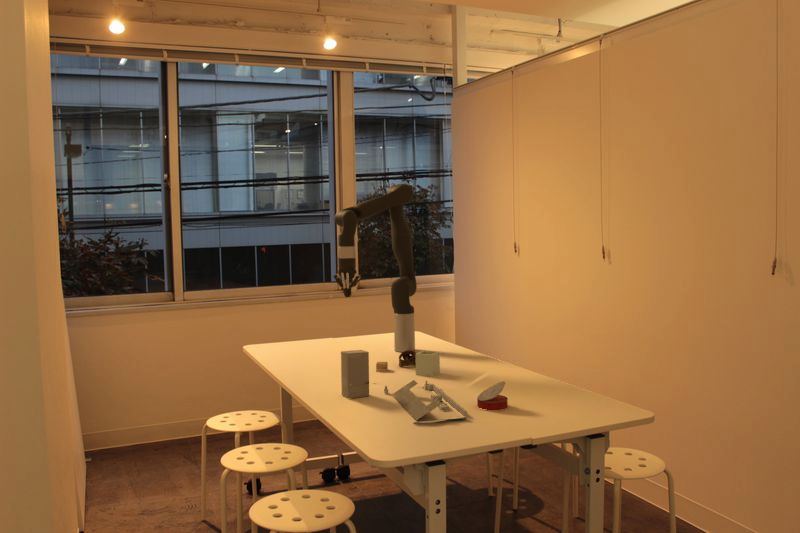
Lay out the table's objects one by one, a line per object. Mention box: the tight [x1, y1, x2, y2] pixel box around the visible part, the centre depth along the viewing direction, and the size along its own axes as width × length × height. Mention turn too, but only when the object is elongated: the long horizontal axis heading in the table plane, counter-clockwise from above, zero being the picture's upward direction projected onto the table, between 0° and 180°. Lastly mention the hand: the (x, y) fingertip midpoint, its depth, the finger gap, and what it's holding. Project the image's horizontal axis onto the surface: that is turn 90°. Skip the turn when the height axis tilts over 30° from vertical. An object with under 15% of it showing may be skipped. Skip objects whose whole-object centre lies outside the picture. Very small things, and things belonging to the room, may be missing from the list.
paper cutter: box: [383, 379, 469, 424], centre depth 257 cm, size 18×45×6 cm, turn 13°
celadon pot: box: [415, 350, 441, 377], centre depth 302 cm, size 7×7×9 cm
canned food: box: [476, 381, 509, 411], centre depth 255 cm, size 11×10×10 cm
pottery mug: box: [398, 350, 417, 368], centre depth 320 cm, size 12×10×8 cm
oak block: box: [375, 361, 389, 373], centre depth 310 cm, size 4×4×4 cm
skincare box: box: [340, 349, 370, 399], centre depth 273 cm, size 8×7×16 cm
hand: (347, 296), depth 337 cm, fingers closed
